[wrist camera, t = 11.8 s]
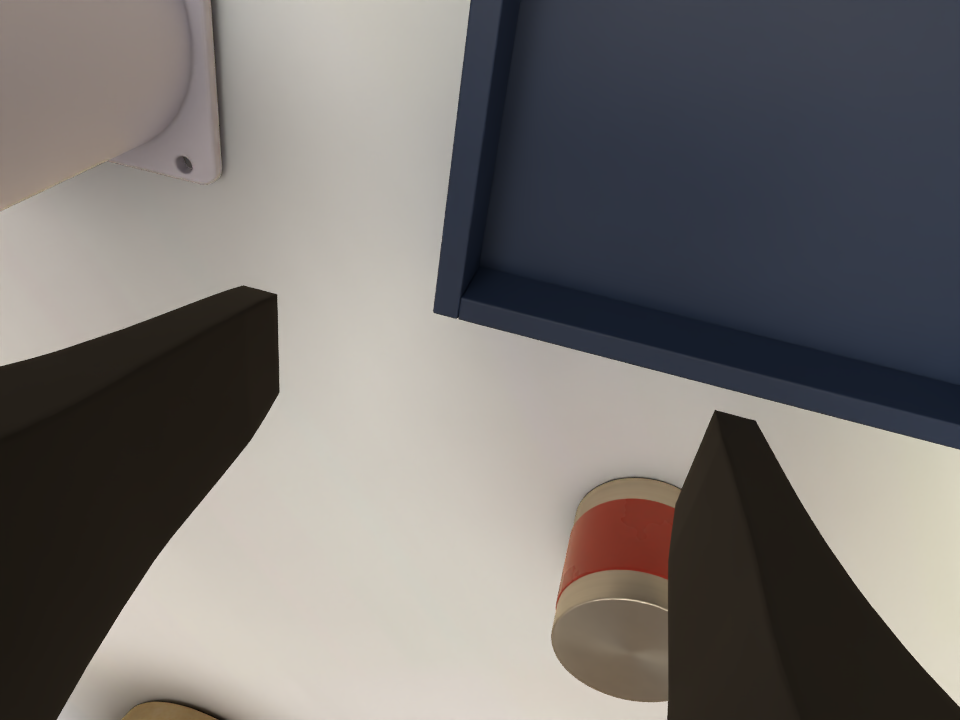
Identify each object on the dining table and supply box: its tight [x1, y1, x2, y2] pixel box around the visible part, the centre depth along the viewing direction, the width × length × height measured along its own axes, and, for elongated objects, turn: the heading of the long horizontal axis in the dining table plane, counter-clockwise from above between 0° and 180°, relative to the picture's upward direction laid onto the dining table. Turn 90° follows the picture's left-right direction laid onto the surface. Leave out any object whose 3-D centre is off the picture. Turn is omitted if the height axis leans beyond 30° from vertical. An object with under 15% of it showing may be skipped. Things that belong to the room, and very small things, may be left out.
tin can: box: [551, 478, 681, 702], centre depth 23 cm, size 5×5×5 cm
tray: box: [433, 0, 960, 449], centre depth 16 cm, size 15×14×2 cm
